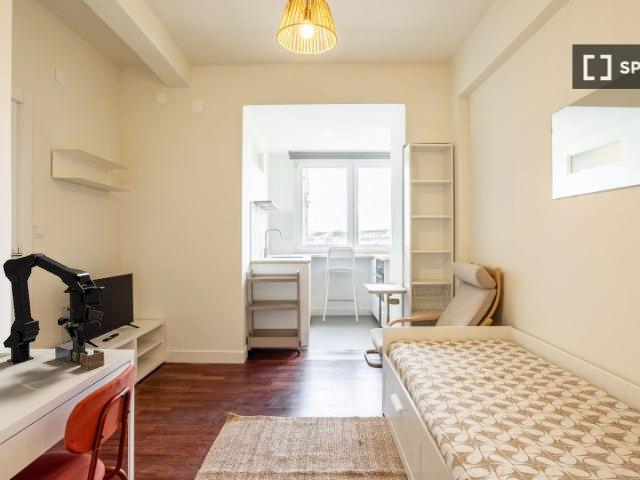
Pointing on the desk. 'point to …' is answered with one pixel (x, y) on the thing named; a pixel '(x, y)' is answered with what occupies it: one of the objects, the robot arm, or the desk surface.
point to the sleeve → (64, 352)
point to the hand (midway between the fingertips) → (78, 345)
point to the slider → (77, 350)
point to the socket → (92, 360)
